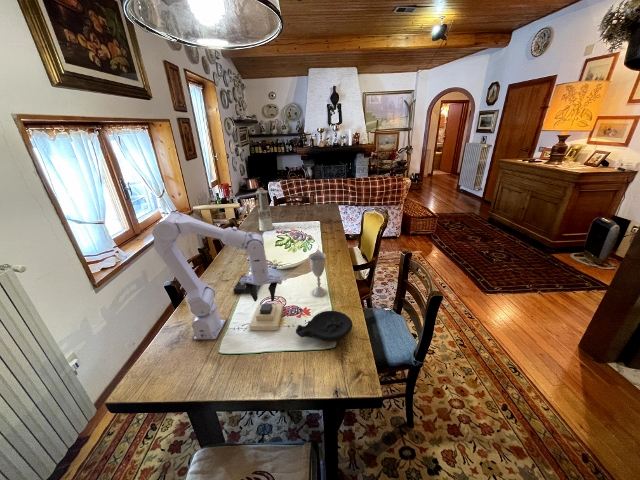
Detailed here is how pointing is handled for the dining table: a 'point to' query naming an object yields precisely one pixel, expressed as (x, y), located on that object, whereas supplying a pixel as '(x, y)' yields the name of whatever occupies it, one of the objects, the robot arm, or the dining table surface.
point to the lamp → (264, 221)
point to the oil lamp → (326, 326)
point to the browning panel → (242, 288)
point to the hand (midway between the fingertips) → (264, 299)
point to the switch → (266, 308)
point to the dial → (246, 275)
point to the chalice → (318, 270)
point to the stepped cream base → (267, 318)
